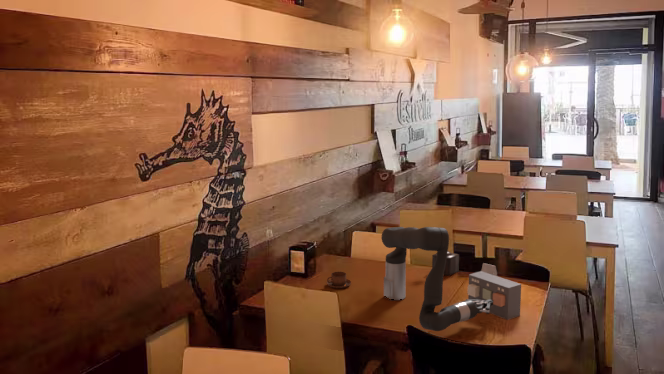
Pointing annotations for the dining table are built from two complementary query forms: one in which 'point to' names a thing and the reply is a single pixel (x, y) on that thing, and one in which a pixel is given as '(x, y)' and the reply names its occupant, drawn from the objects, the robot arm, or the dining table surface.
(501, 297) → the button terracotta
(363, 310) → the dining table surface
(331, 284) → the cup and saucer
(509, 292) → the console
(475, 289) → the button cream
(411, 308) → the dining table surface
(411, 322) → the dining table surface
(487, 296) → the button sage
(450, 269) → the dark brown coffee grinder
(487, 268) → the pale pink rectangular block
